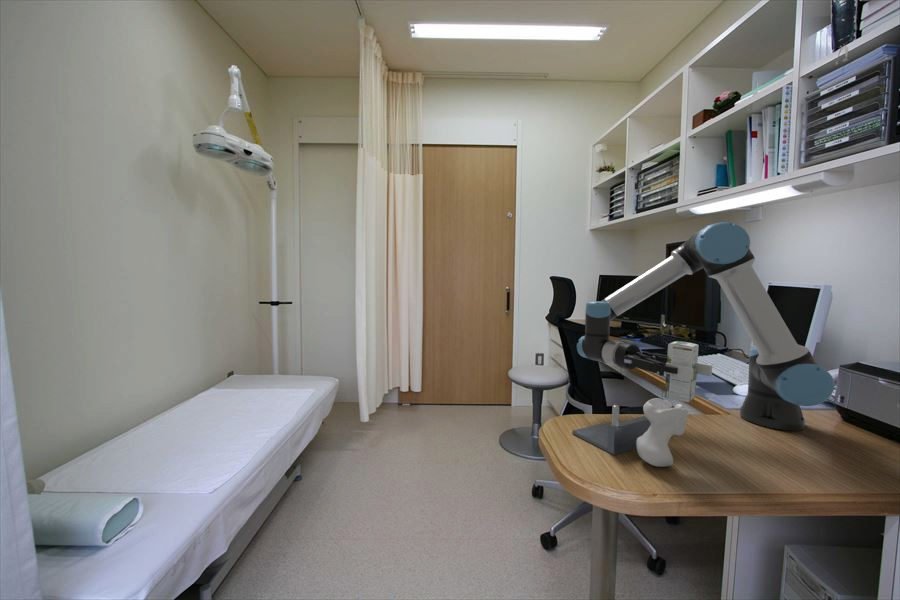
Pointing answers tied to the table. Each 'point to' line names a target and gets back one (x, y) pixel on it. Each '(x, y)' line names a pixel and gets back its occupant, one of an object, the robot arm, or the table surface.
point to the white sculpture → (661, 431)
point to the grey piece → (615, 433)
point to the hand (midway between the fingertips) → (701, 372)
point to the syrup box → (685, 357)
